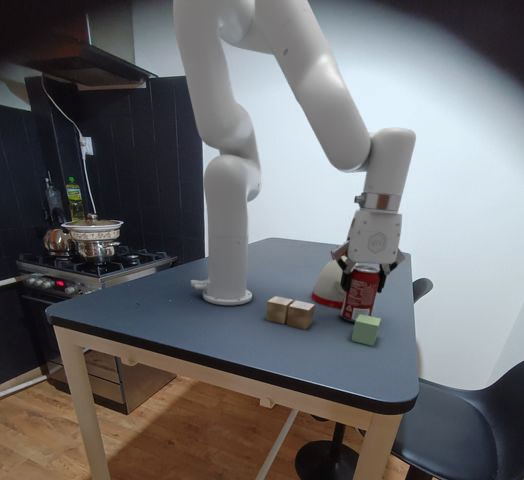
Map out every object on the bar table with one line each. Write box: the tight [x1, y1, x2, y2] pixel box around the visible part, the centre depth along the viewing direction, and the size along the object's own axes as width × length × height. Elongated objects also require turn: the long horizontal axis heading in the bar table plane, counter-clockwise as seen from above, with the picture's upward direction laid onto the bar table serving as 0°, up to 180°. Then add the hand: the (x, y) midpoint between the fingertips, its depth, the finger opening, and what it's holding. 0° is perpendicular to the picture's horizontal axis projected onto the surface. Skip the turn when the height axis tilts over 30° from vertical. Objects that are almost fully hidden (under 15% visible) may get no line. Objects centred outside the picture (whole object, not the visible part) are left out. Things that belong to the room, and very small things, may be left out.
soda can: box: [340, 264, 380, 324], centre depth 72 cm, size 7×7×12 cm
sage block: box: [350, 314, 382, 347], centre depth 64 cm, size 4×4×4 cm
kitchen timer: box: [311, 241, 359, 309], centre depth 83 cm, size 14×14×15 cm
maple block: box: [265, 295, 294, 325], centre depth 71 cm, size 4×4×4 cm
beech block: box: [286, 299, 316, 330], centre depth 69 cm, size 4×4×4 cm
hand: (361, 289), depth 71 cm, fingers closed on soda can, 6 cm apart
